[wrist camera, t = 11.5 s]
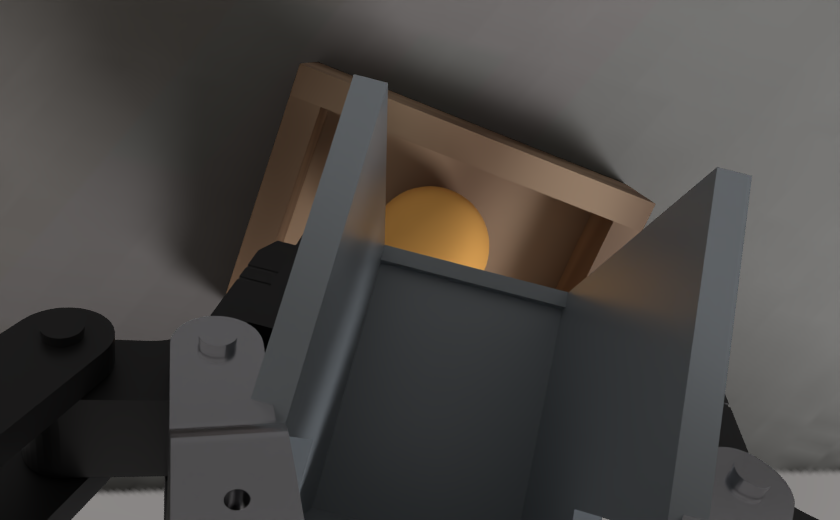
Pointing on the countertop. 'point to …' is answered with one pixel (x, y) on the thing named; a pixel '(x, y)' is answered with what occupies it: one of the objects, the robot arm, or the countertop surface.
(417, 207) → the ball
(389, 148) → the tray
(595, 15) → the countertop surface
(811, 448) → the countertop surface
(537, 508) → the holder
